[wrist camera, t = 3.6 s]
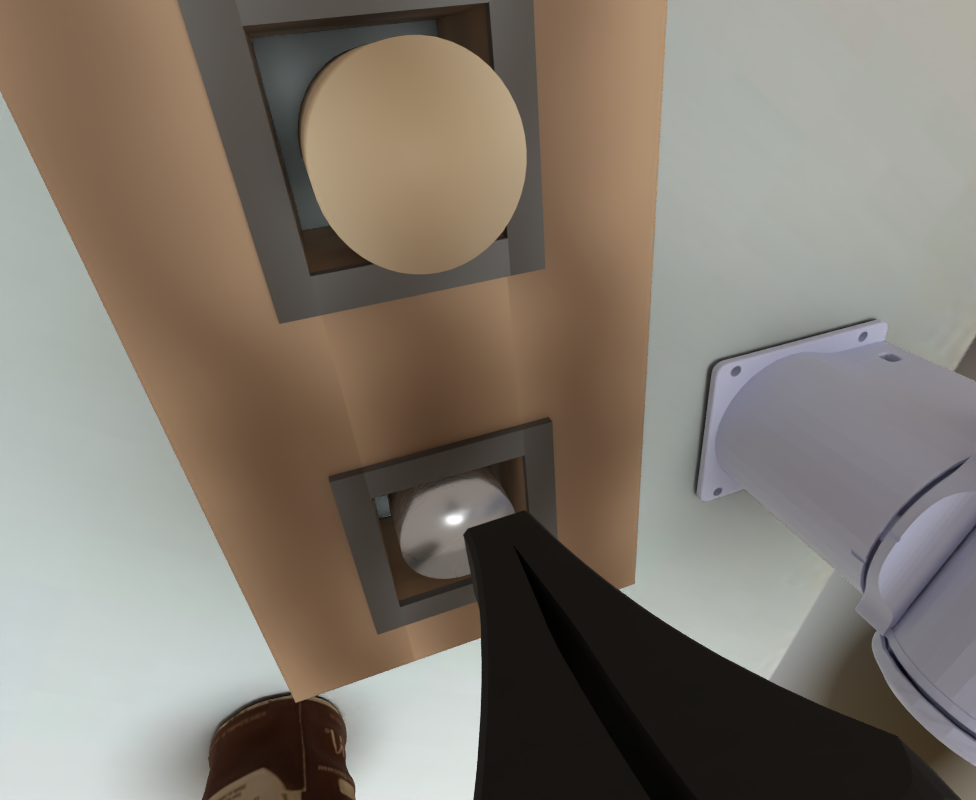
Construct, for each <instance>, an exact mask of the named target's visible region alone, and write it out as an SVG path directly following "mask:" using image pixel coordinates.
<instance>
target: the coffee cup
mask: <svg viewBox="0 0 976 800" xmlns="http://www.w3.org/2000/svg"><path fill="white" fill-rule="evenodd" d="M346 739H347V735H346V727H345V723H344V721H343V719H342V717H341V715H340V714H339V712H338V711H337V709H336V708H335V707H334V706H333V705H332V704H330V703H329V702H327V701H325V700H323V699H320V698H317V697H311V698H308V699H305V700H302V701H299V702H297V703H296V702H295V700H294V698H293V696H292V695H290V696H285V697H279V698H275V699H270V700H266V701H263V702H260V703H257V704H255V705H252V706H250V707H248V708H246V709H244V710H243V711H241V712H240V713H238V714H236V715H235V716H234V717H232V718H231V719H230V720H228V721H227V722H226V723H224V724H223V725H222V726H221V727H220V728H219V729H218V731H217V732H216V734H215V735H214V737H213V739H212V741H211V745H210V751H209V757H208V759H209V766H210V772H209V776H208V780H207V784H206V789H205V792H204V795H203V798H202V800H356V799H355V784H354V781H353V779H352V777H351V776H350V774H349V773H348V770H347V767H346V752H345V744H346Z"/></svg>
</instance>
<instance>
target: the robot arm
mask: <svg viewBox="0 0 976 800" xmlns="http://www.w3.org/2000/svg"><path fill="white" fill-rule="evenodd" d="M887 330H888V325H887V323H886V322H884V321H881V320H874V321H870V322H866V323H862V324H858V325H855V326H851V327H847V328H843V329H840V330H836V331H832V332H828V333H825V334H821V335H817V336H813V337H810V338H806V339H802V340H798V341H795V342H791V343H787V344H783V345H779V346H776V347H772V348H768V349H764V350H761V351H757V352H753V353H749V354H746V355H742V356H738V357H734V358H731V359H727V360H723V361H721V362H719V363H717V364H716V365H715V366H714V368H713V370H712V374H711V382H710V390H709V398H708V406H707V414H706V422H705V430H704V438H703V446H702V454H701V462H700V470H699V478H698V486H697V496H698V498H699V499H700V500H701V501H703V502H707V501H711V500H714V499H717V498H720V497H723V496H726V495H729V494H732V493H735V492H738V491H741V490H746V491H747V492H748V493H749V494H750V495H751V496H752V497H754V498H755V499H756V500H757V501H758V502H759V503H760V504H761V505H763V506H764V507H765V508H766V509H767V510H768V511H769V512H770V513H772V514H773V515H774V516H775V517H776V518H777V519H778V520H779V521H781V522H782V523H783V524H784V525H785V526H786V527H787V528H788V529H790V530H791V531H792V532H793V533H794V534H795V535H796V536H798V537H799V538H800V539H801V540H802V541H803V542H804V543H805V544H807V545H808V546H809V547H810V548H811V549H812V550H813V551H814V552H816V553H817V554H818V555H819V556H820V557H821V558H822V559H823V560H825V561H826V562H827V563H828V564H829V565H830V566H831V567H832V568H834V569H835V570H836V571H837V572H838V573H839V574H841V575H842V576H843V577H844V578H845V579H846V580H847V581H848V582H849V583H851V584H852V585H853V586H854V587H855V588H856V589H857V590H858V591H860V592H861V593H862V594H863V597H862V599H861V601H860V603H859V604H858V606H857V607H856V612H857V613H859V614H860V615H861V616H862V617H863V618H864V619H865V620H866V621H867V622H868V623H869V624H870V625H872V626H873V627H874V628H875V629H876V630H877V631H876V633H875V634H874V637H873V639H872V649H873V653H874V656H875V659H876V661H877V663H878V665H879V667H880V669H881V671H882V672H883V675H884V677H885V679H886V681H887V683H888V685H889V686H890V688H891V690H892V691H893V692H894V694H895V695H896V697H897V698H898V699H899V701H900V702H901V703H902V704H903V705H904V707H905V708H906V709H907V710H908V711H909V712H910V713H911V714H912V715H913V716H914V718H916V720H917V721H918V722H919V723H921V724H922V725H923V726H924V727H925V728H926V729H927V730H928V731H929V732H930V733H931V734H932V735H934V736H935V737H936V738H937V739H938V740H940V741H941V742H942V743H943V744H945V745H946V746H947V747H948V748H950V749H951V750H953V751H954V752H955V753H956V754H958V755H959V756H961V757H962V758H964V759H965V760H967V761H968V762H970V763H971V764H973V765H974V766H976V381H974V380H971V379H969V378H967V377H964V376H962V375H960V374H958V373H955V372H953V371H951V370H949V369H946V368H944V367H942V366H940V365H937V364H935V363H933V362H931V361H928V360H926V359H924V358H921V357H919V356H917V355H915V354H912V353H910V352H908V351H906V350H903V349H901V348H899V347H896V346H894V345H892V344H890V343H887V342H885V341H884V340H885V337H886V334H887ZM734 367H735V368H734ZM733 368H734V370H733V371H732V369H733ZM731 371H732V372H731ZM463 536H464V541H465V546H466V552H467V557H468V562H469V567H470V573H471V578H472V583H473V588H474V594H475V597H476V600H477V603H478V606H479V611H480V623H481V656H482V687H481V716H480V732H479V746H478V761H477V772H476V782H475V791H474V800H961V799H960V798H959V797H958V796H957V795H956V794H955V793H954V792H953V791H952V790H951V789H950V787H949V786H948V785H947V784H946V783H945V782H944V781H943V780H942V779H941V778H940V777H939V776H938V775H937V773H936V772H935V771H934V770H933V769H932V768H931V767H930V766H929V765H928V764H927V763H926V762H925V761H924V760H922V758H920V757H919V756H918V755H917V754H916V753H915V752H914V751H913V750H911V749H910V748H909V747H908V746H907V745H906V744H905V743H904V742H903V741H902V740H901V739H900V738H898V736H896V735H893V734H891V733H888V732H886V731H883V730H881V729H878V728H876V727H873V726H871V725H868V724H866V723H863V722H861V721H858V720H856V719H853V718H851V717H848V716H846V715H843V714H840V713H838V712H836V711H834V710H831V709H829V708H826V707H824V706H822V705H819V704H817V703H815V702H813V701H811V700H809V699H806V698H804V697H802V696H800V695H797V694H796V693H793V692H791V691H789V690H787V689H785V688H782V687H780V686H778V685H776V684H774V683H772V682H770V681H769V680H767V679H765V678H763V677H761V676H759V675H757V674H755V673H753V672H751V671H749V670H747V669H745V668H743V667H741V666H739V665H737V664H735V663H734V662H732V661H730V660H728V659H726V658H724V657H722V656H720V655H718V654H717V653H715V652H713V651H711V650H710V649H708V648H706V647H705V646H703V645H701V644H699V643H698V642H696V641H694V640H693V639H691V638H689V637H688V636H686V635H684V634H683V633H681V632H680V631H678V630H676V629H675V628H673V627H672V626H670V625H668V624H667V623H665V622H664V621H662V620H661V619H659V618H658V617H656V616H655V615H653V614H652V613H650V612H649V611H647V610H646V609H644V608H643V607H642V606H640V605H639V604H637V603H636V602H635V601H633V600H632V599H630V598H629V597H628V596H626V595H625V594H623V593H622V592H621V591H619V590H618V589H617V588H615V587H614V586H613V585H612V584H610V583H609V582H608V581H606V580H605V579H604V578H603V577H601V576H600V575H599V574H598V573H596V572H595V571H594V570H593V569H591V568H590V567H589V566H588V565H586V564H585V563H584V562H583V561H582V560H580V559H579V558H578V557H577V556H576V555H574V554H573V553H572V552H571V551H570V550H569V549H568V548H566V547H565V546H564V545H563V544H562V543H561V542H560V541H559V540H557V539H556V538H555V537H554V536H553V535H552V534H551V533H550V532H549V531H548V530H547V529H546V528H545V527H544V526H543V525H542V524H540V523H539V522H538V521H537V520H536V519H535V518H534V517H533V516H532V515H531V514H530V513H529V512H527V511H525V510H523V511H520V512H517V513H514V514H511V515H508V516H505V517H501V518H498V519H495V520H492V521H489V522H486V523H483V524H480V525H477V526H474V527H471V528H468V529H467V530H466V531H465V533H464V534H463Z"/></svg>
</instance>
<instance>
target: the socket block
mask: <svg viewBox="0 0 976 800" xmlns="http://www.w3.org/2000/svg"><path fill="white" fill-rule="evenodd" d="M667 1H668V0H0V91H1V94H2V96H3V98H4V100H5V102H6V104H7V106H8V108H9V110H10V112H11V114H12V116H13V118H14V120H15V122H16V125H17V127H18V129H19V131H20V133H21V135H22V137H23V139H24V141H25V143H26V145H27V147H28V149H29V151H30V154H31V156H32V158H33V160H34V162H35V164H36V166H37V168H38V170H39V172H40V174H41V176H42V178H43V180H44V183H45V185H46V187H47V189H48V191H49V193H50V195H51V197H52V199H53V201H54V203H55V205H56V207H57V209H58V212H59V214H60V216H61V218H62V220H63V222H64V224H65V226H66V228H67V230H68V232H69V234H70V236H71V238H72V241H73V243H74V245H75V247H76V249H77V251H78V253H79V255H80V257H81V259H82V261H83V263H84V265H85V267H86V270H87V272H88V274H89V276H90V278H91V280H92V282H93V284H94V286H95V288H96V290H97V292H98V294H99V296H100V299H101V301H102V303H103V305H104V307H105V309H106V311H107V313H108V315H109V317H110V319H111V321H112V323H113V325H114V328H115V330H116V332H117V334H118V336H119V338H120V340H121V342H122V344H123V346H124V348H125V350H126V352H127V354H128V357H129V359H130V361H131V363H132V365H133V367H134V369H135V371H136V373H137V375H138V377H139V379H140V381H141V383H142V385H143V388H144V390H145V392H146V394H147V396H148V398H149V400H150V402H151V404H152V406H153V408H154V410H155V412H156V414H157V417H158V419H159V421H160V423H161V425H162V427H163V429H164V431H165V433H166V435H167V437H168V439H169V441H170V443H171V446H172V448H173V450H174V452H175V454H176V456H177V458H178V460H179V462H180V464H181V466H182V468H183V470H184V472H185V475H186V477H187V479H188V481H189V483H190V485H191V487H192V489H193V491H194V493H195V495H196V497H197V499H198V501H199V504H200V506H201V508H202V510H203V512H204V514H205V516H206V518H207V520H208V522H209V524H210V526H211V528H212V530H213V533H214V535H215V537H216V539H217V541H218V543H219V545H220V547H221V549H222V551H223V553H224V555H225V557H226V559H227V562H228V564H229V566H230V568H231V570H232V572H233V574H234V576H235V578H236V580H237V582H238V584H239V586H240V588H241V591H242V593H243V595H244V597H245V599H246V601H247V603H248V605H249V607H250V609H251V611H252V613H253V615H254V617H255V620H256V622H257V624H258V626H259V628H260V630H261V632H262V634H263V636H264V638H265V640H266V642H267V644H268V646H269V649H270V651H271V653H272V655H273V657H274V659H275V661H276V663H277V665H278V667H279V669H280V671H281V673H282V675H283V677H284V680H285V682H286V684H287V686H288V688H289V690H290V692H291V694H292V696H293V698H294V700H295V702H296V703H297V702H299V701H302V700H305V699H308V698H311V697H314V696H316V695H319V694H322V693H325V692H328V691H331V690H334V689H336V688H339V687H342V686H345V685H348V684H351V683H353V682H356V681H359V680H362V679H365V678H368V677H371V676H373V675H376V674H379V673H382V672H385V671H388V670H390V669H393V668H396V667H399V666H402V665H405V664H408V663H410V662H413V661H416V660H419V659H422V658H425V657H427V656H430V655H433V654H436V653H439V652H442V651H445V650H447V649H450V648H453V647H456V646H459V645H462V644H464V643H467V642H470V641H473V640H476V639H479V638H481V623H480V611H479V606H478V603H477V600H476V597H475V594H474V588H473V583H472V578H471V574H468V575H465V576H462V577H457V578H450V579H437V578H431V577H427V576H424V575H422V574H419V573H418V572H416V571H414V570H413V569H412V568H411V567H410V566H409V565H408V564H407V563H406V561H405V559H404V558H403V555H402V552H401V548H400V545H399V541H398V537H397V533H396V530H395V526H394V522H393V519H392V516H391V517H387V518H384V519H381V520H379V516H378V513H377V509H376V505H375V502H374V498H376V497H379V496H383V495H386V494H390V493H394V492H397V491H401V490H404V489H408V488H411V487H415V486H418V485H422V484H425V483H429V482H432V481H436V480H439V479H443V478H447V477H450V476H454V475H457V474H461V473H464V472H468V471H471V470H475V469H478V468H482V467H485V466H489V465H490V466H491V468H492V469H493V471H494V473H495V475H496V477H497V479H498V480H499V482H500V484H501V486H502V488H503V489H504V491H505V493H506V495H507V497H508V498H509V500H510V502H511V504H512V506H513V508H514V511H515V513H517V512H520V511H523V510H525V511H527V512H529V513H530V514H531V515H532V516H533V517H534V518H535V519H536V520H537V521H538V522H539V523H540V524H542V525H543V526H544V527H545V528H546V529H547V530H548V531H549V532H550V533H551V534H552V535H553V536H554V537H555V538H556V539H557V540H559V541H560V542H561V543H562V544H563V545H564V546H565V547H566V548H568V549H569V550H570V551H571V552H572V553H573V554H574V555H576V556H577V557H578V558H579V559H580V560H582V561H583V562H584V563H585V564H586V565H588V566H589V567H590V568H591V569H593V570H594V571H595V572H596V573H598V574H599V575H600V576H601V577H603V578H604V579H605V580H606V581H608V582H609V583H610V584H612V585H613V586H614V587H615V588H617V589H621V588H624V587H627V586H630V585H632V584H635V568H636V550H637V533H638V515H639V497H640V480H641V462H642V444H643V426H644V409H645V391H646V373H647V356H648V338H649V320H650V302H651V285H652V267H653V249H654V232H655V214H656V196H657V178H658V161H659V143H660V125H661V108H662V90H663V72H664V54H665V37H666V19H667ZM434 19H436V20H437V28H438V36H439V38H441V39H445V40H448V41H451V42H454V43H456V44H458V45H460V46H462V47H464V48H466V49H468V50H469V51H471V52H472V53H474V54H475V55H477V56H478V57H479V58H481V59H482V60H483V61H484V62H485V63H486V64H487V65H489V66H490V67H491V68H492V70H493V71H494V72H495V73H496V74H497V75H498V76H499V78H500V79H501V80H502V82H503V83H504V85H505V86H506V88H507V89H508V91H509V92H510V94H511V96H512V98H513V100H514V102H515V104H516V106H517V109H518V112H519V115H520V118H521V121H522V125H523V129H524V133H525V141H526V149H527V165H526V174H525V181H524V185H523V189H522V194H521V196H520V199H519V202H518V205H517V207H516V209H515V212H514V214H513V216H512V218H511V220H510V221H509V223H508V224H507V226H506V227H505V229H504V230H503V232H502V233H501V234H500V235H499V237H498V238H497V239H496V240H495V241H494V242H493V243H492V244H491V245H490V246H489V247H488V248H487V249H486V250H485V251H483V252H482V253H481V254H479V255H478V256H477V257H475V258H474V259H472V260H470V261H469V262H467V263H465V264H463V265H461V266H458V267H456V268H453V269H451V270H447V271H443V272H439V273H432V274H407V273H400V272H396V271H392V270H388V269H385V268H383V267H380V266H378V265H376V264H374V263H372V262H370V261H368V260H366V259H365V258H363V257H361V256H360V255H359V254H357V253H356V252H355V251H353V250H352V249H351V248H350V247H349V246H348V245H347V244H346V243H345V242H344V241H343V240H342V239H341V238H340V237H339V236H338V235H337V234H336V232H335V231H334V230H333V229H332V227H331V226H328V227H322V228H316V229H311V230H305V231H302V229H301V225H300V221H299V217H298V214H297V210H296V206H295V202H294V199H293V195H292V191H291V188H290V184H289V180H288V176H287V173H286V169H285V165H284V161H283V158H282V154H281V150H280V146H279V143H278V139H277V135H276V131H275V128H274V124H273V120H272V116H271V113H270V109H269V105H268V102H267V98H266V94H265V90H264V87H263V83H262V79H261V75H260V72H259V68H258V64H257V60H256V57H255V53H254V49H253V45H252V42H251V38H256V37H266V36H275V35H285V34H295V33H305V32H315V31H325V30H335V29H345V28H355V27H364V26H374V25H384V24H394V23H404V22H414V21H424V20H434Z"/></svg>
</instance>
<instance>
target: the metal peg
mask: <svg viewBox="0 0 976 800" xmlns="http://www.w3.org/2000/svg"><path fill="white" fill-rule="evenodd" d="M386 496H387V500H388V504H389V507H390V511H391V515H392V519H393V522H394V526H395V530H396V533H397V537H398V541H399V545H400V548H401V552H402V555H403V558H404V559H405V561H406V563H407V564H408V565H409V566H410V567H411V568H412V569H413V570H414V571H416V572H418V573H419V574H422V575H424V576H427V577H431V578H437V579H450V578H457V577H462V576H465V575H468V574H471V573H470V567H469V562H468V557H467V552H466V546H465V541H464V536H463V534H464V533H465V531H466V530H467V529H468V528H471V527H474V526H477V525H480V524H483V523H486V522H489V521H492V520H495V519H498V518H501V517H505V516H508V515H511V514H514V513H515V511H514V508H513V506H512V504H511V502H510V500H509V498H508V497H507V495H506V493H505V491H504V489H503V488H502V486H501V484H500V482H499V480H498V479H497V477H496V475H495V473H494V471H493V469H492V468H491V466H490V465H489V466H485V467H482V468H478V469H475V470H471V471H468V472H464V473H461V474H457V475H454V476H450V477H447V478H443V479H439V480H436V481H432V482H429V483H425V484H422V485H418V486H415V487H411V488H408V489H404V490H401V491H397V492H394V493H390V494H386Z"/></svg>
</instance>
